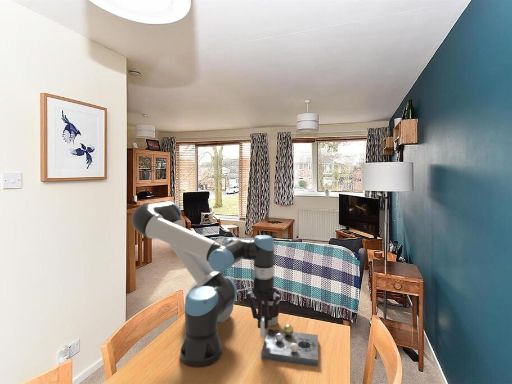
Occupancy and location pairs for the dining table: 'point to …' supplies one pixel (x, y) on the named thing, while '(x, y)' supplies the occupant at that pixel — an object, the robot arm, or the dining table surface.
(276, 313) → the coffee cup
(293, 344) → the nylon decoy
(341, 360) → the dining table surface
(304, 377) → the dining table surface
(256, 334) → the dining table surface
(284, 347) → the plate
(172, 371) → the dining table surface
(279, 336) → the steel ball
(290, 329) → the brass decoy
